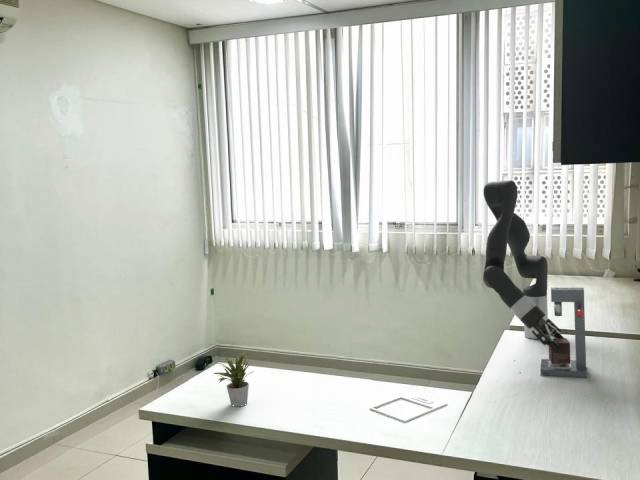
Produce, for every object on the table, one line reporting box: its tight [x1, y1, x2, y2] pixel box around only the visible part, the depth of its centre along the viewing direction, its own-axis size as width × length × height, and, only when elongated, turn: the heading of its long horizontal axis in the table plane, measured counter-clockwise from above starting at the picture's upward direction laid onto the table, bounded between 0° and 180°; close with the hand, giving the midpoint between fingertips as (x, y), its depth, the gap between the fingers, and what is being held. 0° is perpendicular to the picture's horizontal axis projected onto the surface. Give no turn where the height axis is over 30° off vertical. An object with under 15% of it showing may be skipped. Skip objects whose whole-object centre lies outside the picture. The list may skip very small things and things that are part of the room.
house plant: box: [213, 351, 253, 407], centre depth 193 cm, size 14×14×16 cm
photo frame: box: [369, 391, 448, 423], centre depth 180 cm, size 15×1×18 cm
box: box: [547, 337, 571, 364], centre depth 202 cm, size 6×6×7 cm
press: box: [539, 287, 588, 379], centre depth 199 cm, size 17×14×28 cm
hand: (563, 348), depth 201 cm, fingers closed on box, 8 cm apart
